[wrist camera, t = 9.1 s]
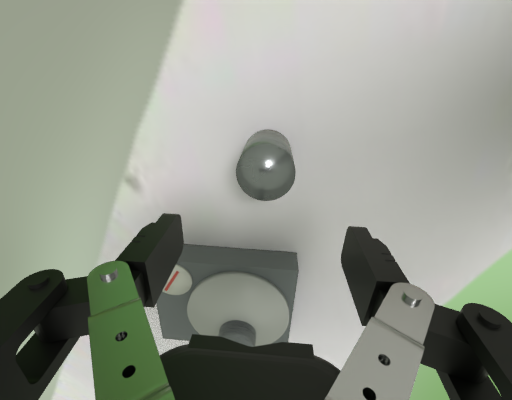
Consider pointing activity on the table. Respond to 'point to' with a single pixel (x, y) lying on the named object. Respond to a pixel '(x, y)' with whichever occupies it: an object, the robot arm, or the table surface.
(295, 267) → the scale
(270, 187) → the cylinder
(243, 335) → the cylinder
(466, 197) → the table surface
